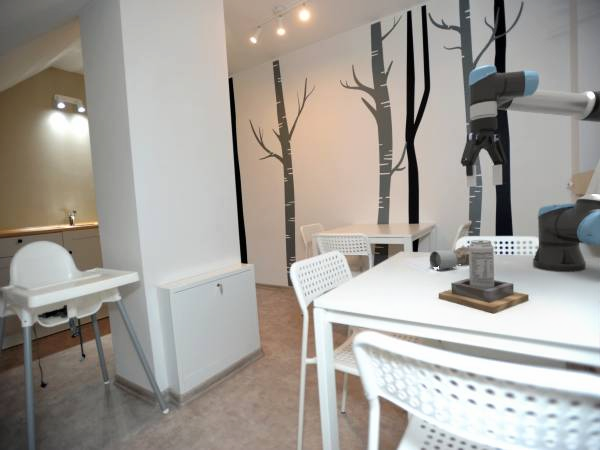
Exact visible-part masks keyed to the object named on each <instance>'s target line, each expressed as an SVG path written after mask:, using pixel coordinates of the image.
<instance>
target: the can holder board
mask: <svg viewBox="0 0 600 450" xmlns="http://www.w3.org/2000/svg"><path fill="white" fill-rule="evenodd" d="M450 284H451V289H448V290H445V291H441V292H439V293H438V299H440V300H442V301H443V300H444V301H447V302H451V303H455V304H458V305H463V306H466V307H468V308H473V309H475V310H476V309H477V310H480V311H484V312H487V313H491V314H495V313H498V312H501V311H503V310H506V309H509V308H511V307H514V306H516V305H519V304H521V303H525V302H526V301H530V300H529V294H526V293H522V292H518V291H514V283H513V282H512V283H511V282H506V281H500V280H495V279H494V287H492V288H489V289H484V288H479V287H474V286H470V277H468V278H466V279H465V278H464V279H462V280H458V281H454V282H451V283H450Z"/></svg>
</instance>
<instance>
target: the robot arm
mask: <svg viewBox="0 0 600 450" xmlns="http://www.w3.org/2000/svg"><path fill="white" fill-rule="evenodd" d="M468 75H469V76H468V77H469V78H468V91H469V93H468V94H469V120H471V121H469V122H470V123H469V130H470V132H469V133H467V134H466V141H465V145H464V148H463V153H462V156H461V159H460V164H461V165H462V167H465V176H466V187H467V188H468V187H469V188H470V187H477V186H478V185H477V184H478V183H477V165H476V164H475V163H476V161H477V159H478V157H479V155H480V153H481V150H484V151H486V152H487V154H488V155H489V158H490V159H491V161H492V163H493V165H492V167H491V169H492V172H491V173H492V185H493V186H499V185H501V186H502V185H503V165H506V163H507V158H506V153H505V150H504V148H503V143H502V142H501V140H502V139H501V134H500V133H498V134H494V131H496V130H497V129H498V117H497V116H498V110H501V111H510V112H512V111H514V112H521V113H522V112H524V113H525V112H526V113H533V114H541V115H551V116H553V115H554V116H561V117H562V116H564V117H572V119H573V120H575V121H583V122H593V123H600V91H599V90H598V91H591V90H586V91H584V92H582V93H578V92H577V93H576V92H568V91H566V92H565V91H555V90H546V89H538V87H539V83H540V77H539V74H538V72H536V71H534V70H519V71H511V72H509V71H508V72H498V71H497V67H496V65H492V64H488V65H486V64H485V65H482V66H478V67H476V68H474V69H472V71H470V72H469V74H468ZM537 213H538V214H537V220H538V223H537V227H538V231H537V232H538V247H537V250H536V252H535V255H534V258H533V259H532V260H533V261H532V267H534V268H536V269H540V270H545V271H552V272H581V271H585V270H587V264H586V263H587V261H586V260H585V258H584V256H583V253H582V251H581V249H580V244H585V245H587V246H600V159H598V162H597V164H596V167H595V169H594V172H593V175H592V177H591V179H590V181H589V184H588V186H587V189H586V192H585V194H584V195H583V196H580V197H579V198H577V199H576V201H575V202H572V203H561V204H560V203H558V204H550V205H544V206H541V207H540V208H539V209H538V212H537Z"/></svg>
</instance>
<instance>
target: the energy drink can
mask: <svg viewBox="0 0 600 450" xmlns="http://www.w3.org/2000/svg"><path fill="white" fill-rule="evenodd" d="M491 241H492V240H489V239H488V240H487V239H472V240H470V244H469V246H468V248H469V263H468V265H469V267H468V268H469V269H468V270H469V278H470V286H474V287H479V288H484V289H489V288H492V287H494V280H495V261H494V260H495V255H494V252H495V251H494V246H493V244H492V243H491Z"/></svg>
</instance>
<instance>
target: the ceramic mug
mask: <svg viewBox="0 0 600 450" xmlns="http://www.w3.org/2000/svg"><path fill="white" fill-rule="evenodd" d="M453 251H454V250H433V251H431V253H430V254H429V265H430V267H431V268H432V267H438V266H439V269H444V270H447V269H446V268H451V269H454V268H456V267H457V266H458V265H457V263H458V258H457V255H456V254H455V253H454V252H453ZM453 267H454V268H453Z"/></svg>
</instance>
